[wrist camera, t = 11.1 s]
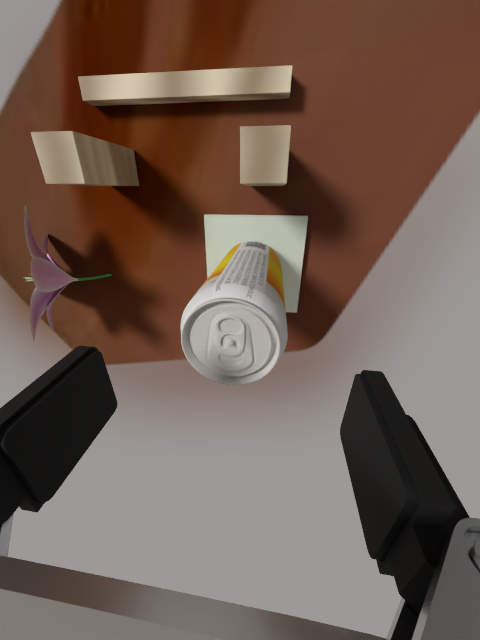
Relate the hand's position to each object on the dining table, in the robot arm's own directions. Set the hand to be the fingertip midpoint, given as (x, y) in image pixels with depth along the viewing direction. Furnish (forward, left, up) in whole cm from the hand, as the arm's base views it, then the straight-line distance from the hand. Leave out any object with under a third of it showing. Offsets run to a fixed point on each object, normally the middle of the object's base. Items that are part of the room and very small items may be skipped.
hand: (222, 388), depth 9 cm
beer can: (0, +1, -19) cm, 19 cm away
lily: (+21, +1, -20) cm, 29 cm away
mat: (0, 0, -20) cm, 20 cm away
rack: (+6, -11, -20) cm, 23 cm away
